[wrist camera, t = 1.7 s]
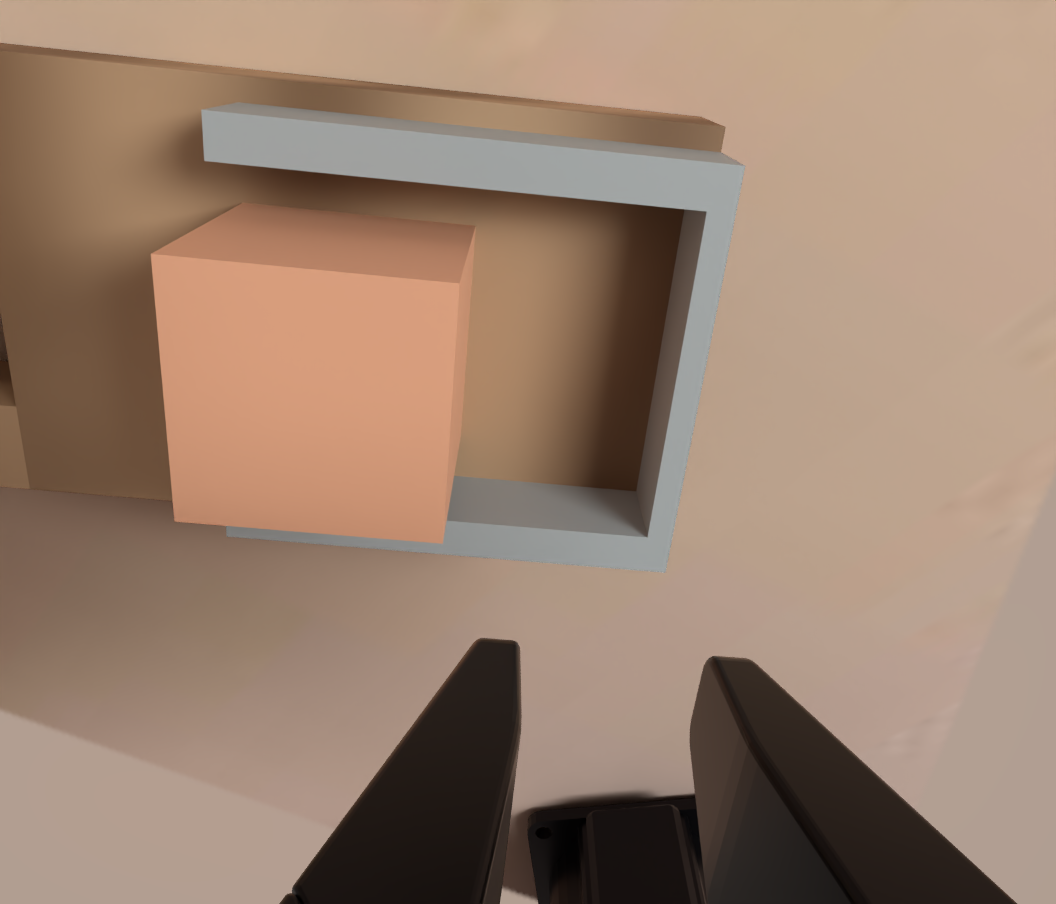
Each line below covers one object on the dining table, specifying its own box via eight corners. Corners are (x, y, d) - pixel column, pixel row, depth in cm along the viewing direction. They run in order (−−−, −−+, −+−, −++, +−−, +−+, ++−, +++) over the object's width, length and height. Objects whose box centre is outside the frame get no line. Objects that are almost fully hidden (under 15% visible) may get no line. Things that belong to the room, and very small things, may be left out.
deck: (701, 116, 18) (725, 127, 16) (636, 490, 22) (649, 541, 20) (-249, 16, 17) (-364, 12, 15) (-145, 422, 21) (-225, 468, 19)
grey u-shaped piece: (720, 152, 16) (744, 165, 14) (652, 523, 20) (665, 572, 18) (238, 102, 16) (201, 109, 14) (254, 490, 19) (226, 536, 17)
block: (475, 225, 17) (458, 283, 13) (460, 435, 19) (443, 543, 15) (242, 203, 17) (150, 254, 13) (251, 417, 19) (174, 521, 14)
